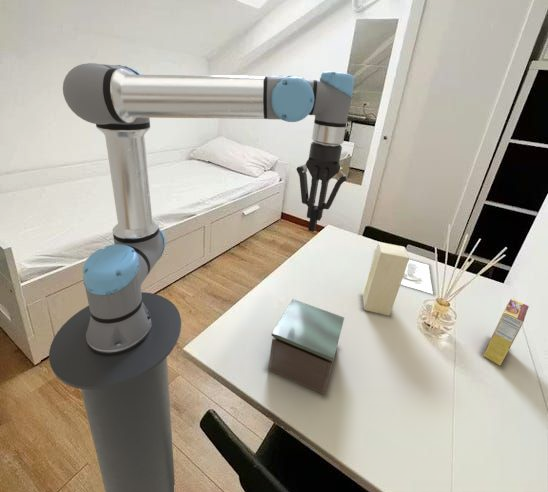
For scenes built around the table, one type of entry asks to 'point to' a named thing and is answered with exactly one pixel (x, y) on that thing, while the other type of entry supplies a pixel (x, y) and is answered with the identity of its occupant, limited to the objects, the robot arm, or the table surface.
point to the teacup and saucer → (417, 276)
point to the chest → (300, 365)
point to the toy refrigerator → (385, 278)
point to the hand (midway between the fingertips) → (312, 229)
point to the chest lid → (310, 329)
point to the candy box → (506, 331)
